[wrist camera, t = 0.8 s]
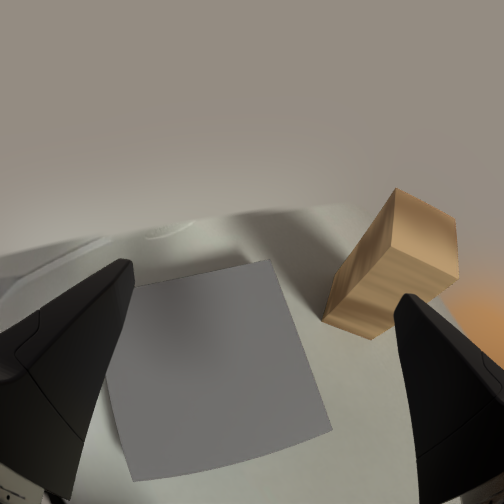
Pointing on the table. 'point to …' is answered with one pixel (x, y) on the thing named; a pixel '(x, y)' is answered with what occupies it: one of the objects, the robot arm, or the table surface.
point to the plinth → (211, 374)
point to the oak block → (393, 266)
